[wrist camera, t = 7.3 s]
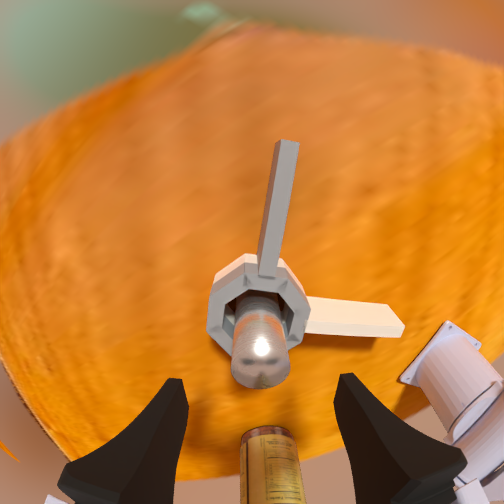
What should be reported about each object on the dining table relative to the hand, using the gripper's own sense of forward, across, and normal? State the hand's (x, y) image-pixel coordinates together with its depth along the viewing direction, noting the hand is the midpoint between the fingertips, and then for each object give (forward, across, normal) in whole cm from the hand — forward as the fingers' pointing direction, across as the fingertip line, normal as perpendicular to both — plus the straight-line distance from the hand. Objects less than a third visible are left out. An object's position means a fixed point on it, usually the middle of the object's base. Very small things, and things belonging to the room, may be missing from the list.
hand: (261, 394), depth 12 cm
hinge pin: (+10, 0, 0) cm, 10 cm away
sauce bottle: (+10, -1, +19) cm, 21 cm away
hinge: (+10, -5, -3) cm, 11 cm away
